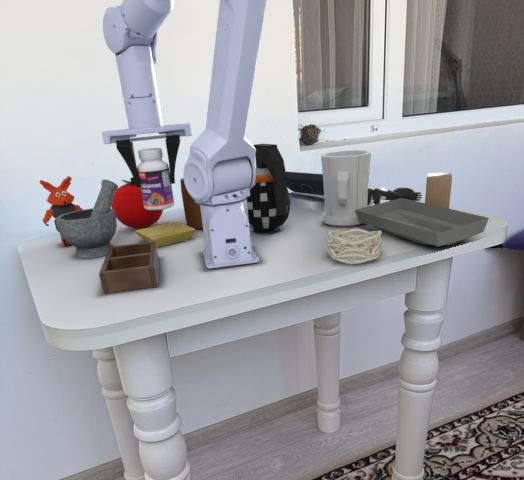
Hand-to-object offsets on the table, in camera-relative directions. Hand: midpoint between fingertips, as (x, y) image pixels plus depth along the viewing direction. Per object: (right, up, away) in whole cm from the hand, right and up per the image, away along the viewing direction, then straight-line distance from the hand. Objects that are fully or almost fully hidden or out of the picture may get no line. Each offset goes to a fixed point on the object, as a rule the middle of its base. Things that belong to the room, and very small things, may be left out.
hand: (156, 184), depth 86 cm
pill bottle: (0, -4, +2) cm, 4 cm away
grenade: (+20, -7, +5) cm, 22 cm away
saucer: (+1, -9, +5) cm, 10 cm away
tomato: (-6, -4, +16) cm, 18 cm away
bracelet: (+36, -13, -14) cm, 41 cm away
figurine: (+47, +2, +15) cm, 49 cm away
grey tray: (+44, -7, -7) cm, 45 cm away
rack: (-1, -18, -12) cm, 21 cm away
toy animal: (-18, -9, +8) cm, 22 cm away
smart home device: (+24, +13, +37) cm, 46 cm away
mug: (+9, -3, +14) cm, 17 cm away
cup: (+35, -5, +6) cm, 36 cm away
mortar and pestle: (-11, -12, +1) cm, 16 cm away
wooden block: (+49, -6, +1) cm, 50 cm away
